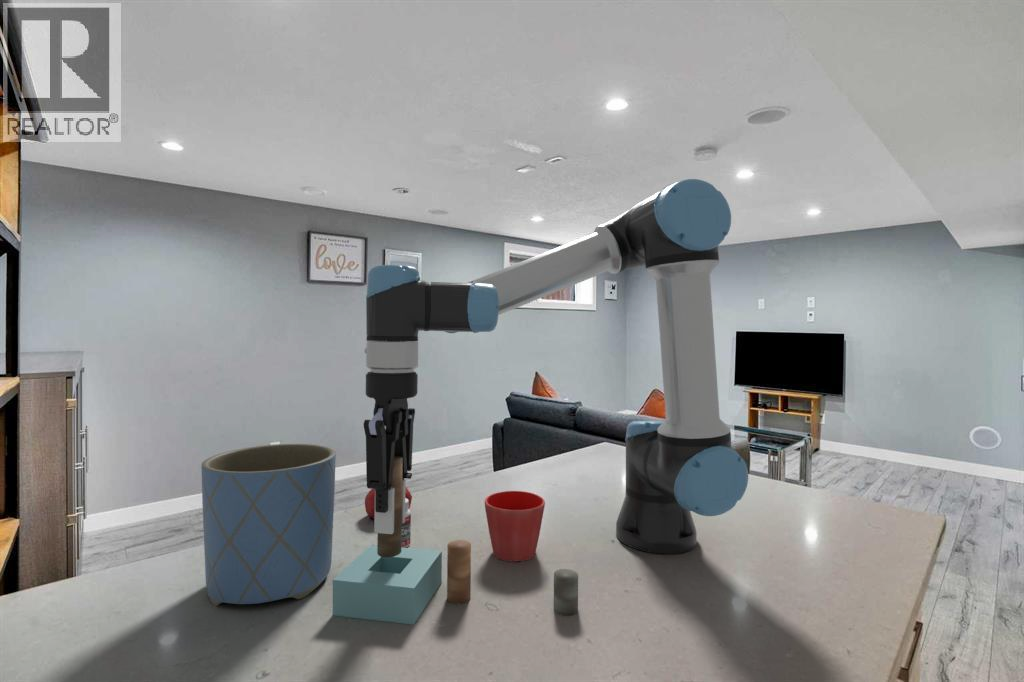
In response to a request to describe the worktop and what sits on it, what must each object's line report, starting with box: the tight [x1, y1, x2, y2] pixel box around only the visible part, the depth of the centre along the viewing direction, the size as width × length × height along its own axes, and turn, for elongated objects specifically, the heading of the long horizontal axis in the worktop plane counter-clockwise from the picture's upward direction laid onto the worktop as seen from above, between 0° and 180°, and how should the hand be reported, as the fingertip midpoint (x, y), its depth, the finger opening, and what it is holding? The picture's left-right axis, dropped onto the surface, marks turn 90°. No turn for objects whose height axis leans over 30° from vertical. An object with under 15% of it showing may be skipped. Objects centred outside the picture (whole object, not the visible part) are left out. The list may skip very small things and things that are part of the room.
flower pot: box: [484, 490, 546, 563], centre depth 91 cm, size 11×11×10 cm
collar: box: [332, 544, 443, 626], centre depth 75 cm, size 12×12×5 cm
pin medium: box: [446, 539, 472, 605], centre depth 75 cm, size 4×4×8 cm
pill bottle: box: [401, 498, 412, 548], centre depth 94 cm, size 5×5×8 cm
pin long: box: [376, 456, 403, 557], centre depth 75 cm, size 4×4×14 cm
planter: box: [200, 443, 337, 607], centre depth 80 cm, size 19×19×20 cm
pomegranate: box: [364, 479, 413, 519], centre depth 109 cm, size 10×10×9 cm
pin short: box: [553, 568, 579, 617], centre depth 73 cm, size 4×4×5 cm
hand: (390, 526), depth 75 cm, fingers closed on pin long, 3 cm apart
